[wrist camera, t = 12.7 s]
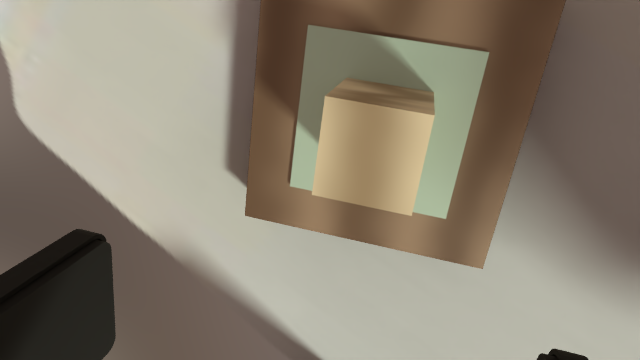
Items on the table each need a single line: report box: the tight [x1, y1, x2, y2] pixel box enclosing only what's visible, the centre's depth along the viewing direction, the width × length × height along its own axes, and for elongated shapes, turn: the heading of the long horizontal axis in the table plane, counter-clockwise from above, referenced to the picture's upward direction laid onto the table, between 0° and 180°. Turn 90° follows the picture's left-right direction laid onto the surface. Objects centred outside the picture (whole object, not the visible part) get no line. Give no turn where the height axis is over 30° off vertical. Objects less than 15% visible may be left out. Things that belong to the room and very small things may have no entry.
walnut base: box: [245, 0, 566, 269], centre depth 29 cm, size 16×16×3 cm
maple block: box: [312, 78, 435, 216], centre depth 24 cm, size 5×5×6 cm
